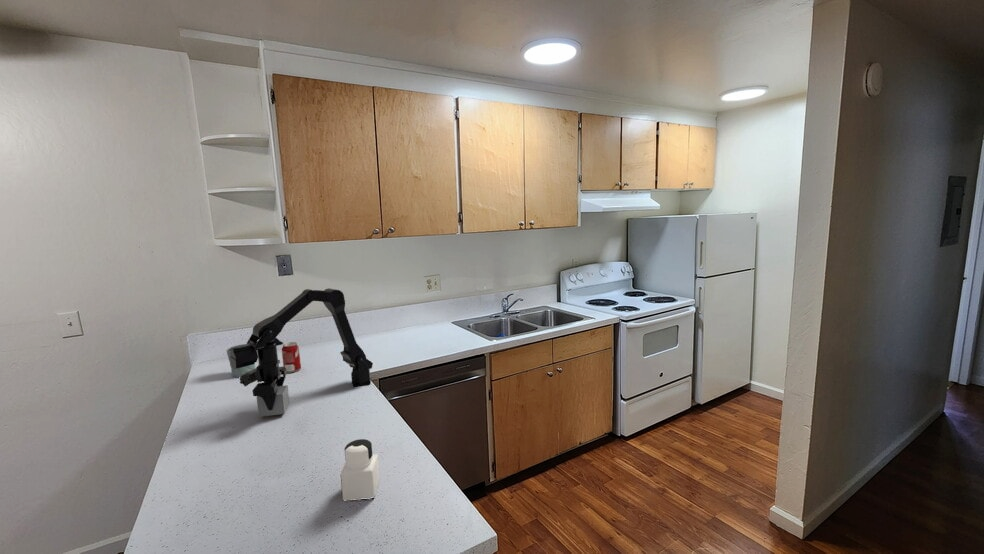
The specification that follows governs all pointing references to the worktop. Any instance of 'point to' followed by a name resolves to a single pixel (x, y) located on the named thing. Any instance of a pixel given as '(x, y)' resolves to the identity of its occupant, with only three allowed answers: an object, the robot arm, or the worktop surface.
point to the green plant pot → (239, 371)
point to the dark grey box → (275, 403)
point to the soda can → (291, 357)
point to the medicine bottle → (359, 471)
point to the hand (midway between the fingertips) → (273, 404)
